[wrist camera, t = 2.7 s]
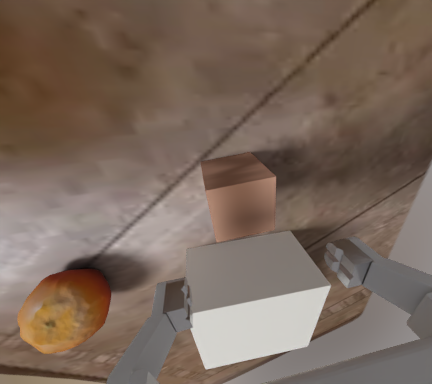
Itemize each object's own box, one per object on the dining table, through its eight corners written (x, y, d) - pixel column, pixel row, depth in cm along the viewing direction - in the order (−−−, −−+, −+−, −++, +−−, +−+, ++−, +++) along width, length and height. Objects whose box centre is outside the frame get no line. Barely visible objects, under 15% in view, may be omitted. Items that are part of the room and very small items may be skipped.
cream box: (289, 229, 24) (331, 285, 17) (280, 289, 30) (307, 346, 24) (186, 247, 23) (185, 314, 16) (201, 305, 30) (205, 369, 23)
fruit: (64, 318, 24) (-2, 379, 16) (63, 260, 24) (-3, 290, 16) (126, 310, 25) (95, 364, 17) (125, 254, 25) (92, 280, 17)
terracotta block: (249, 151, 17) (276, 176, 12) (252, 194, 20) (275, 229, 15) (200, 161, 17) (205, 190, 12) (209, 203, 20) (216, 242, 14)
